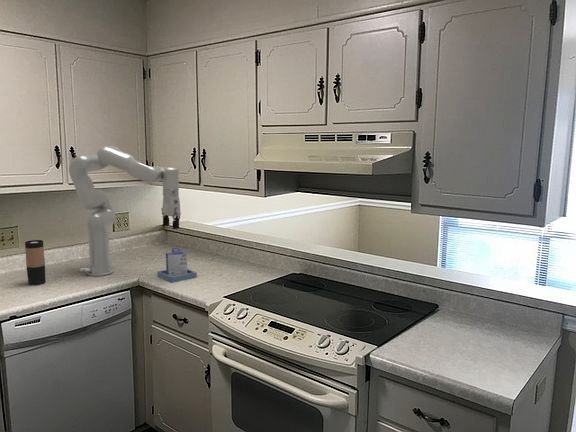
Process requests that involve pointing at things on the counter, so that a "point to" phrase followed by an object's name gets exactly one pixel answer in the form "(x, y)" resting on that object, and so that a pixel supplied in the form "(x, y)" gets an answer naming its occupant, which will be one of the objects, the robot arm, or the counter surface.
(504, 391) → the counter surface
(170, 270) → the ink cartridge box
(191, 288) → the counter surface
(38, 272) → the travel mug
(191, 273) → the frame
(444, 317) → the counter surface
